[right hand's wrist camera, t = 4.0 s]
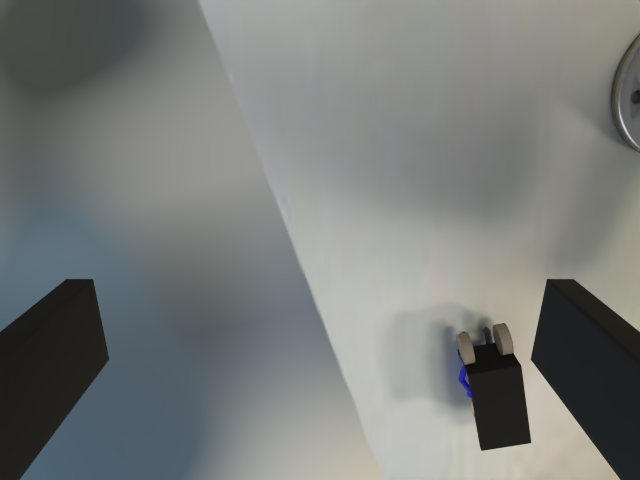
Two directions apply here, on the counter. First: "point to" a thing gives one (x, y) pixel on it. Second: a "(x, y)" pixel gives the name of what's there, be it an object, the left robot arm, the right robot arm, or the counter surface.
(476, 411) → the figurine character
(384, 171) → the counter surface
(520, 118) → the counter surface
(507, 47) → the counter surface
